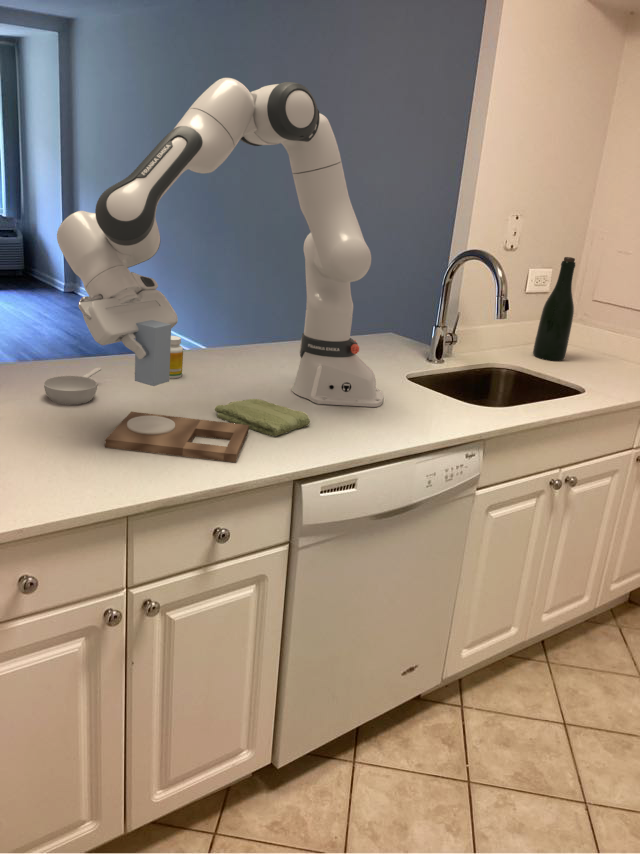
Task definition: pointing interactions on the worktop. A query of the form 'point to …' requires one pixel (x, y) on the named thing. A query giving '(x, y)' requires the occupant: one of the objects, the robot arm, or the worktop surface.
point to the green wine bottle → (557, 317)
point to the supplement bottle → (176, 357)
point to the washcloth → (263, 416)
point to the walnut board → (182, 438)
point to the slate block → (153, 352)
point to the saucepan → (71, 388)
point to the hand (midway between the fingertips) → (155, 354)
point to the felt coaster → (151, 425)
